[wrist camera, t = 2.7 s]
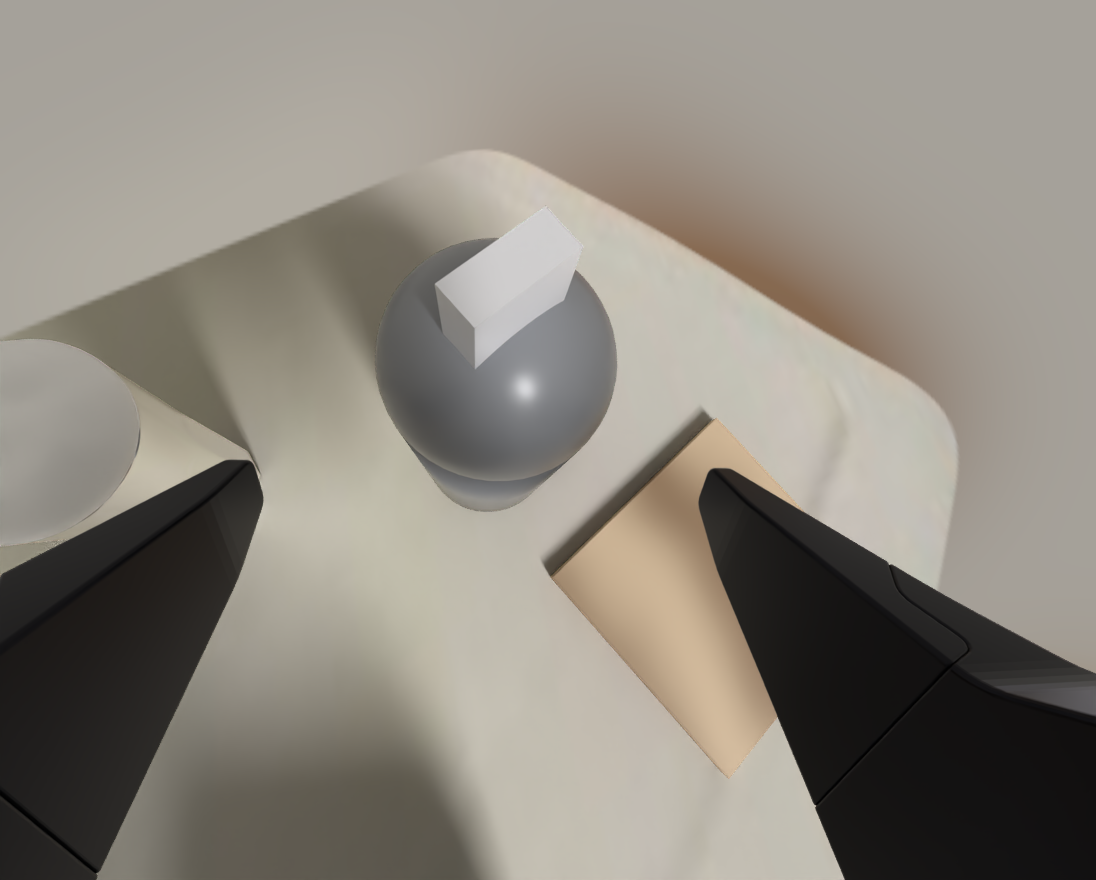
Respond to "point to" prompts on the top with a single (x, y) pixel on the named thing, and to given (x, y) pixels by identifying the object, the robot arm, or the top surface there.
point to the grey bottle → (497, 362)
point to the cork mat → (677, 601)
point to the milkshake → (86, 443)
